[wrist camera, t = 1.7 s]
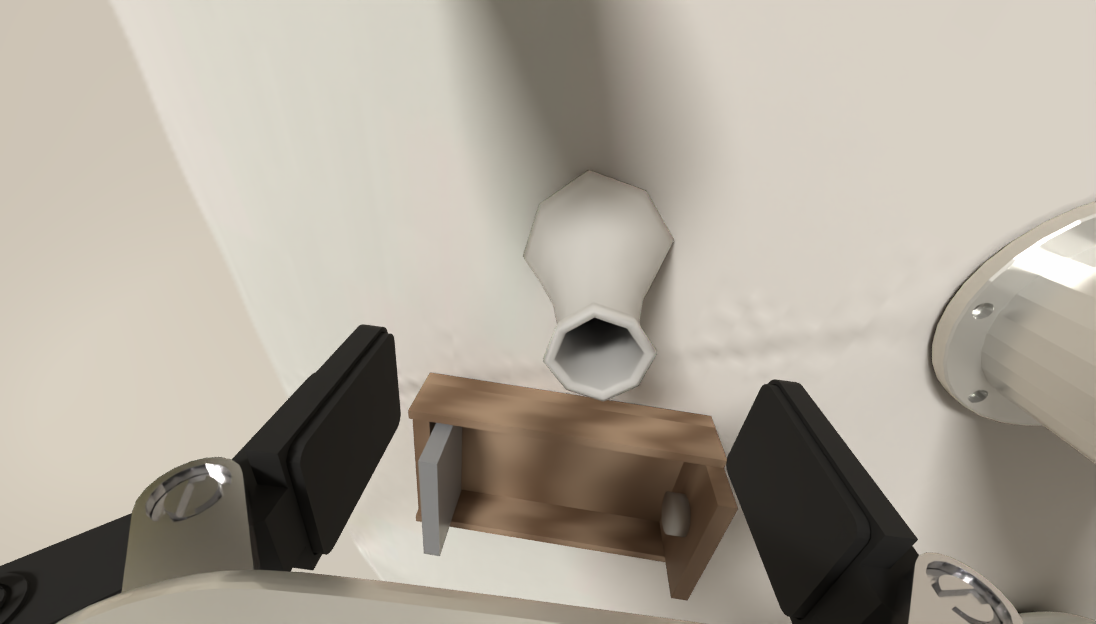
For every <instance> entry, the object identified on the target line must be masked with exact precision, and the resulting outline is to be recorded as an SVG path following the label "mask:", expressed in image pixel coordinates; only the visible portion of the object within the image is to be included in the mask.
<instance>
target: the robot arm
mask: <svg viewBox="0 0 1096 624" xmlns="http://www.w3.org/2000/svg"><path fill="white" fill-rule="evenodd" d="M932 364H933V367H934V370H935V373H936V376H937V379H938V380H939V382H940V383H941V384H942V386H943V387H944V389H945V390H946V391H947V392H948V393H949V394H950V395H951V396H953V397H954V398H955V399H956V400H957V401H958V402H959V403H961V404H962V405H963V406H964V407H966V408H968V409H969V410H971V411H973V412H974V413H976V414H978V415H979V416H982V417H985V418H988V419H991V420H994V421H997V422H1002V423H1008V424H1015V425H1024V426H1045V427H1046V428H1047V429H1049V430H1050V431H1051V432H1053V433H1054V434H1055V435H1057V436H1058V437H1060V438H1061V439H1062V440H1064V441H1065V442H1066V443H1068V444H1069V445H1070V446H1072V447H1073V448H1074V449H1076V450H1077V451H1078V452H1080V453H1081V454H1082V455H1084V456H1085V457H1086V458H1088V459H1089V460H1090V461H1092V462H1093V463H1095V464H1096V201H1095V202H1092V203H1089V204H1086V205H1083V206H1080V207H1077V208H1074V209H1072V210H1070V211H1068V212H1066V213H1064V214H1061V215H1059V216H1057V217H1055V218H1053V219H1051V220H1048V221H1046V222H1044V223H1042V224H1040V225H1039V226H1037V227H1035V228H1034V229H1032V230H1030V231H1029V232H1027V233H1026V234H1024V235H1022V236H1021V237H1019V238H1017V239H1016V240H1014V241H1012V242H1011V243H1010V244H1008V245H1007V246H1006V247H1004V248H1003V249H1002V250H1000V251H999V252H998V253H997V254H995V255H994V256H993V257H991V258H990V259H989V260H988V261H986V262H985V263H984V264H983V265H982V266H981V267H980V268H979V269H978V270H977V271H976V272H975V273H974V274H973V275H972V276H971V277H970V278H969V279H968V280H967V281H966V282H965V283H964V284H963V285H962V287H961V288H960V289H959V291H958V292H957V293H956V295H955V296H954V297H953V299H952V300H951V301H950V303H949V304H948V305H947V307H946V309H945V311H944V313H943V315H942V317H941V319H940V321H939V323H938V325H937V328H936V332H935V336H934V340H933V344H932ZM400 416H401V412H400V400H399V388H398V377H397V365H396V354H395V342H394V336H393V335H392V334H388V332H387V329H386V328H385V327H378V326H371V325H360V326H359V327H357V329H356V330H355V331H354V332H353V333H352V334H351V335H350V336H349V337H348V338H347V339H346V340H345V342H344V343H343V344H342V345H341V346H340V347H339V348H338V349H337V350H336V351H335V352H334V353H333V354H332V356H331V357H330V358H329V359H328V360H327V361H326V362H325V363H324V364H323V365H322V366H321V367H320V369H319V370H318V371H317V372H316V373H313V374H312V375H311V376H310V377H308V379H307V380H306V381H305V382H304V383H303V384H302V385H301V386H300V387H299V388H298V389H297V390H296V391H295V392H294V394H293V395H292V396H291V397H290V398H289V399H288V400H287V401H286V402H285V403H284V404H283V405H282V406H281V407H280V408H279V410H278V411H277V412H276V413H275V414H274V415H273V416H272V417H271V418H270V419H269V420H268V421H267V422H266V424H265V425H264V426H263V427H262V428H261V429H260V430H259V431H258V432H257V433H256V434H255V435H254V436H253V437H252V438H251V440H250V441H249V442H248V443H247V444H246V445H245V446H244V447H243V448H242V449H241V450H240V451H239V452H238V453H237V455H236V456H235V457H234V458H233V459H232V460H231V459H226V458H222V457H212V458H203V459H199V460H195V461H191V462H188V463H186V464H183V465H181V466H178V467H176V468H174V469H172V470H170V471H169V472H167V473H165V474H164V475H162V476H160V477H159V478H157V479H156V480H155V481H154V482H153V483H151V484H150V485H149V486H148V487H147V488H146V489H145V490H144V491H143V492H142V494H141V495H140V496H139V497H138V499H137V500H136V502H135V505H134V508H133V511H132V513H131V514H129V515H126V516H124V517H121V518H119V519H116V520H114V521H111V522H109V523H106V524H104V525H101V526H99V527H97V528H94V529H91V530H89V531H86V532H84V533H81V534H79V535H77V536H74V537H71V538H69V539H66V540H64V541H62V542H59V543H57V544H54V545H51V546H49V547H47V548H44V549H42V550H39V551H37V552H34V553H32V554H29V555H27V556H24V557H22V558H19V559H17V560H14V561H12V562H10V563H7V564H4V565H2V566H0V624H704V623H697V622H690V621H683V620H676V619H668V618H661V617H653V616H646V615H639V614H631V613H624V612H616V611H609V610H602V609H594V608H587V607H579V606H572V605H564V604H557V603H549V602H542V601H534V600H526V599H519V598H511V597H503V596H496V595H488V594H480V593H472V592H465V591H457V590H449V589H441V588H433V587H426V586H418V585H410V584H402V583H394V582H387V581H377V580H368V579H358V578H350V577H341V576H331V575H322V574H313V573H304V572H290V571H291V570H292V568H300V569H307V570H314V568H315V566H316V564H317V562H318V561H319V559H320V557H321V555H322V554H326V555H327V554H328V553H330V551H331V550H332V549H333V547H334V546H335V544H336V542H337V540H338V538H339V536H340V534H341V533H342V531H343V529H344V527H345V525H346V523H347V521H348V519H349V518H350V516H351V514H352V512H353V510H354V508H355V506H356V504H357V503H358V501H359V499H360V497H361V495H362V493H363V491H364V489H365V488H366V486H367V484H368V482H369V480H370V478H371V476H372V474H373V473H374V471H375V469H376V467H377V465H378V463H379V461H380V459H381V458H382V456H383V454H384V452H385V450H386V448H387V446H388V444H389V443H390V441H391V439H392V437H393V435H394V433H395V431H396V429H397V427H398V425H399V422H400ZM726 466H727V472H728V475H729V477H730V480H731V482H732V485H733V487H734V490H735V492H736V495H737V498H738V500H739V503H740V505H741V508H742V510H743V513H744V516H745V518H746V521H747V523H748V526H749V528H750V531H751V533H752V536H753V539H754V541H755V544H756V546H757V549H758V551H759V554H760V557H761V559H762V562H763V564H764V567H765V569H766V572H767V574H768V577H769V580H770V582H771V585H772V587H773V590H774V592H775V595H776V598H777V600H778V603H779V605H780V607H781V609H782V611H783V612H784V614H785V615H787V616H789V617H790V619H791V621H792V624H1023V621H1022V618H1021V617H1020V615H1019V614H1018V612H1017V611H1016V609H1015V608H1014V606H1013V604H1012V603H1011V602H1010V601H1009V600H1008V599H1007V598H1006V597H1005V596H1004V594H1003V593H1002V592H1001V591H1000V590H999V589H998V588H997V587H995V586H994V585H993V584H992V583H991V582H990V581H988V580H987V579H986V578H985V577H984V576H982V575H981V574H979V573H978V572H976V571H975V570H973V569H972V568H970V567H969V566H967V565H966V564H964V563H962V562H960V561H958V560H956V559H954V558H952V557H949V556H945V555H942V554H939V553H927V552H926V553H924V554H922V555H919V554H918V553H917V552H916V550H915V549H914V548H913V546H912V545H913V544H914V543H915V542H916V541H917V540H918V539H917V537H916V536H915V535H914V533H913V532H912V531H911V529H910V528H909V527H908V526H907V524H906V523H905V522H904V520H903V519H902V518H901V516H900V515H899V514H898V512H897V511H896V510H895V508H894V507H893V506H892V504H891V503H890V502H889V500H888V499H887V498H886V496H885V495H884V494H883V492H882V491H881V490H880V488H879V487H878V486H877V484H876V483H875V482H874V480H873V479H872V478H871V476H870V475H869V474H868V472H867V471H866V470H865V469H864V467H863V466H862V465H861V463H860V462H859V461H858V459H857V458H856V457H855V455H854V454H853V453H852V451H851V450H850V449H849V447H848V446H847V445H846V443H845V442H844V441H843V439H842V438H841V437H840V435H839V434H838V433H837V431H836V430H835V429H834V427H833V426H832V425H831V423H830V422H829V421H828V419H827V418H826V417H825V416H824V414H823V413H822V412H821V410H820V409H819V408H818V406H817V405H816V404H815V402H814V401H813V400H812V398H811V397H810V396H809V394H808V393H807V392H806V390H805V389H804V388H803V386H802V385H801V384H800V383H797V382H790V381H783V380H772V381H770V382H769V383H768V384H764V385H763V386H762V387H761V389H760V391H759V393H758V395H757V397H756V399H755V401H754V403H753V405H752V407H751V409H750V411H749V414H748V416H747V418H746V420H745V422H744V424H743V426H742V428H741V430H740V432H739V434H738V436H737V438H736V440H735V443H734V445H733V447H732V449H731V451H730V453H729V455H728V457H727V462H726Z"/></svg>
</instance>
